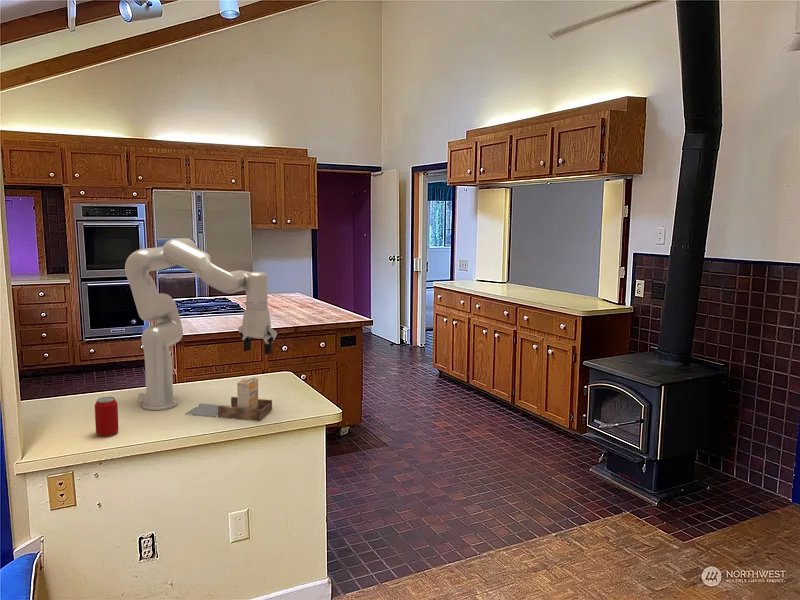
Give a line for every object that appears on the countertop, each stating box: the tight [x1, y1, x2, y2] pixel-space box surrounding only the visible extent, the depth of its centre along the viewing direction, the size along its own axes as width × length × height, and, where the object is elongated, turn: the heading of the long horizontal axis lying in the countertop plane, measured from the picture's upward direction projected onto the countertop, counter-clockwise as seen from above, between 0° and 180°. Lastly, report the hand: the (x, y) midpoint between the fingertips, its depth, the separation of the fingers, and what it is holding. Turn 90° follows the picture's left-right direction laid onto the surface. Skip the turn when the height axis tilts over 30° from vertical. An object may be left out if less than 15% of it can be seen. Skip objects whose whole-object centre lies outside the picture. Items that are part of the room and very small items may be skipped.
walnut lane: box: [217, 396, 273, 422], centre depth 218 cm, size 16×12×4 cm
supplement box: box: [236, 376, 259, 409], centre depth 217 cm, size 8×5×13 cm, turn 168°
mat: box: [184, 402, 230, 418], centre depth 220 cm, size 12×12×1 cm
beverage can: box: [94, 396, 119, 437], centre depth 194 cm, size 7×7×12 cm
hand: (257, 352), depth 214 cm, fingers open, 9 cm apart
